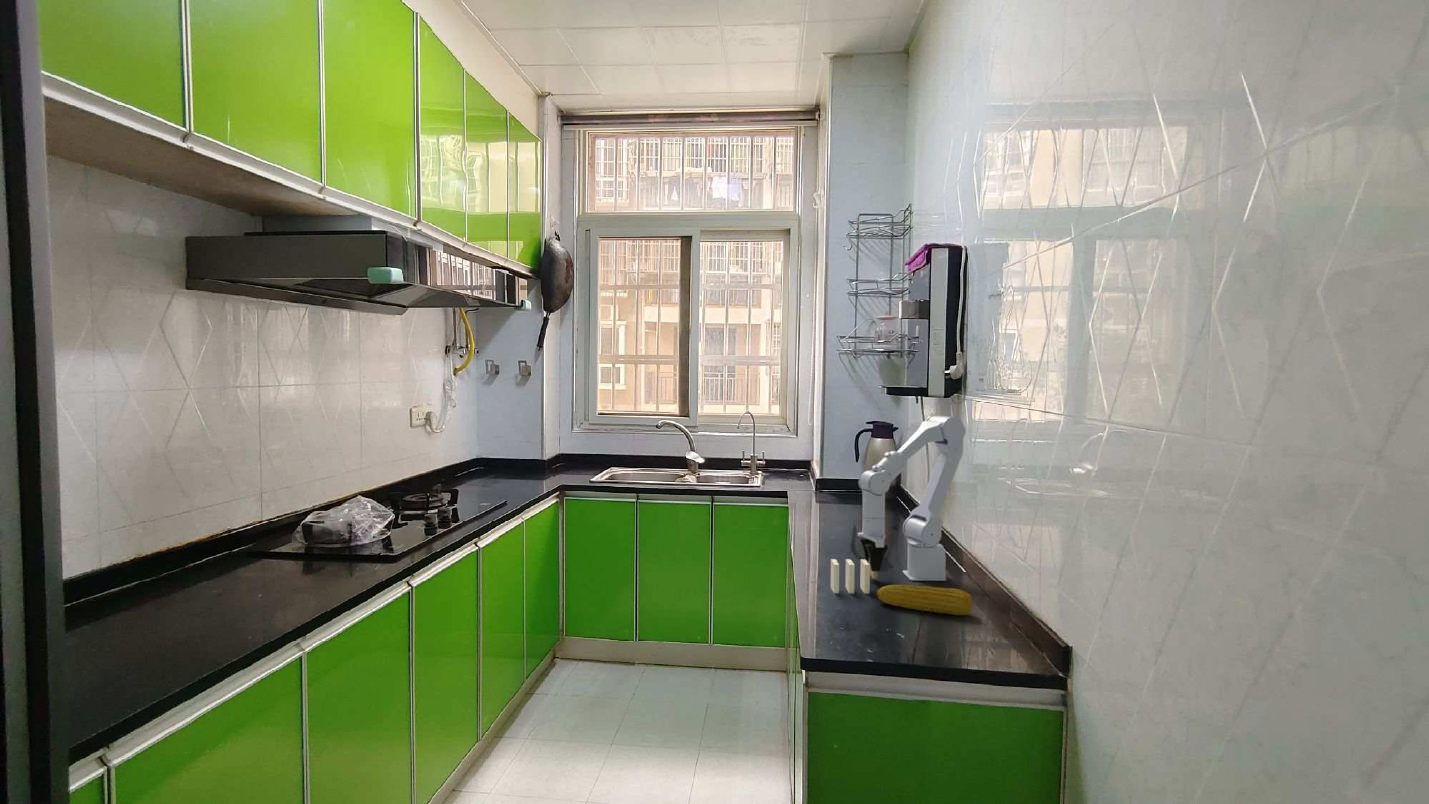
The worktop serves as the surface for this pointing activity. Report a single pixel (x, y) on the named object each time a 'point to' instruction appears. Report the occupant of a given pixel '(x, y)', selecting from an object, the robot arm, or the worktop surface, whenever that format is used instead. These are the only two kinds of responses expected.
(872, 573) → the domino
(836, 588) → the domino
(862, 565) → the domino
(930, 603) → the food
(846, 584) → the domino
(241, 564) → the worktop surface
